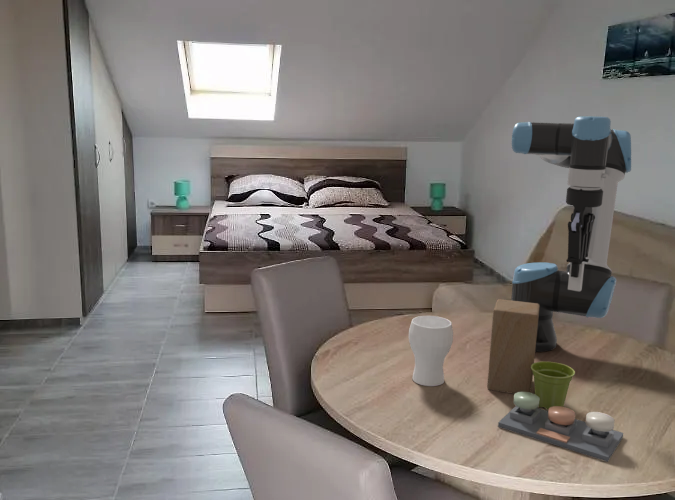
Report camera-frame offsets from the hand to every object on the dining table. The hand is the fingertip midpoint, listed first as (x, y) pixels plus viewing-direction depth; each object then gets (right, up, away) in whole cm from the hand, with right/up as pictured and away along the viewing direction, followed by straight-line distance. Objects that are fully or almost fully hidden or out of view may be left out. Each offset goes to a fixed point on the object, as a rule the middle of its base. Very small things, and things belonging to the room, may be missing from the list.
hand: (574, 289), depth 146 cm
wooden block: (-13, -24, +8) cm, 28 cm away
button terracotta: (-8, -27, -14) cm, 32 cm away
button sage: (-14, -25, -10) cm, 31 cm away
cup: (-32, -23, +10) cm, 41 cm away
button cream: (-2, -27, -19) cm, 33 cm away
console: (-8, -29, -14) cm, 33 cm away
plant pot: (-6, -26, -2) cm, 27 cm away
